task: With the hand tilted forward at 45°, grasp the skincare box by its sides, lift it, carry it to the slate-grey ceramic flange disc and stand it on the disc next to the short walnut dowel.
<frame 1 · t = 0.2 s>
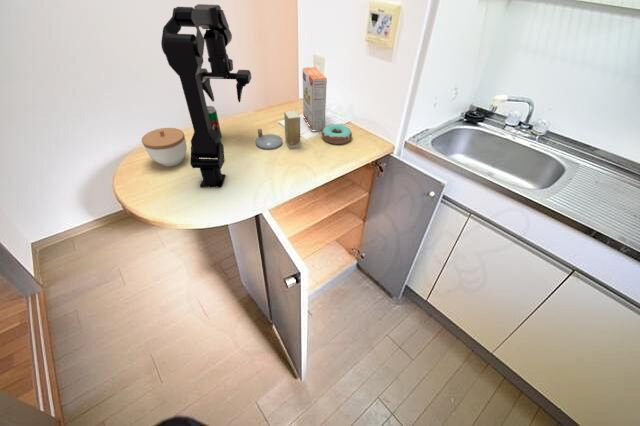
hand: (226, 101, 103), 14 cm above the table, tool pointing down, fingers open, 9 cm apart
donut: (336, 139, 116), on the table
flange disc: (269, 143, 111), on the table
soda can: (215, 139, 112), on the table
cracker box: (313, 124, 124), on the table
skincare box: (292, 145, 111), on the table
lidded bowl: (171, 161, 100), on the table
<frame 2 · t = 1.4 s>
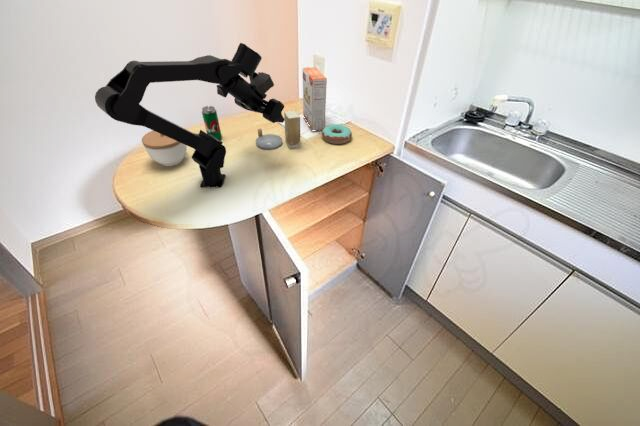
hand: (274, 116, 97), 13 cm above the table, tool tilted 45°, fingers open, 9 cm apart
nothing on the table moved.
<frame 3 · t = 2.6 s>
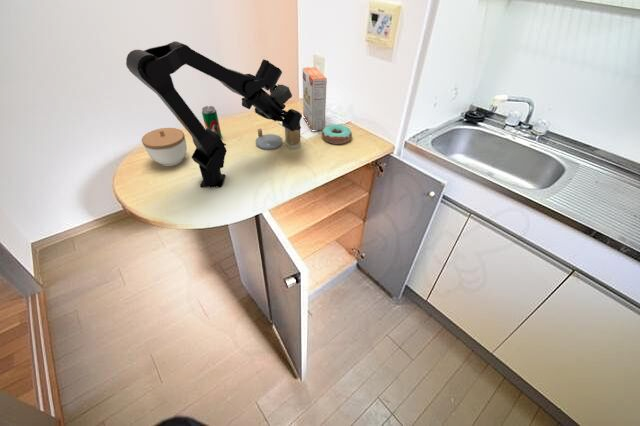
hand: (291, 124, 105), 8 cm above the table, tool tilted 45°, fingers open, 9 cm apart
nothing on the table moved.
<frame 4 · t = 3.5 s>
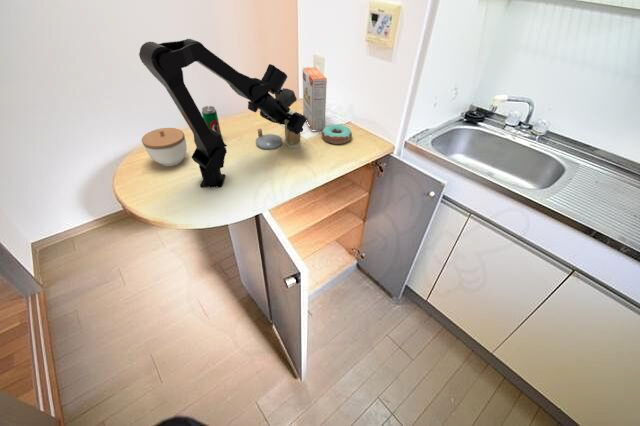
hand: (295, 127, 107), 7 cm above the table, tool tilted 45°, fingers closed on skincare box, 7 cm apart
skincare box: (292, 145, 111), on the table, touching gripper
everything else where it was.
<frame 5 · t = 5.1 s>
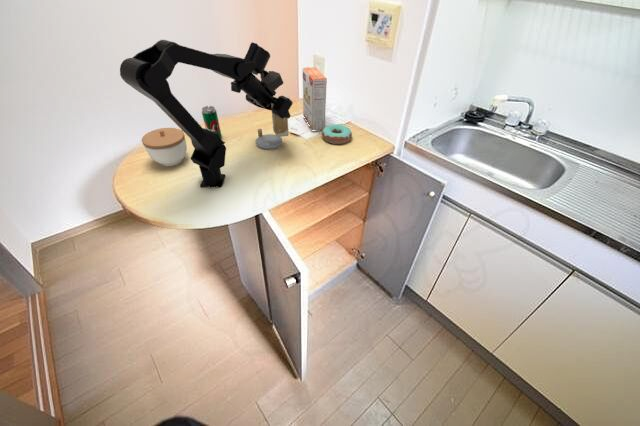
hand: (282, 113, 103), 12 cm above the table, tool tilted 45°, fingers closed on skincare box, 7 cm apart
skincare box: (280, 134, 106), point 5 cm above the table, touching gripper
everything else where it was.
when the fingers open (9 cm above the table, at t = 6.7 s): skincare box stays where it is, resting on flange disc.
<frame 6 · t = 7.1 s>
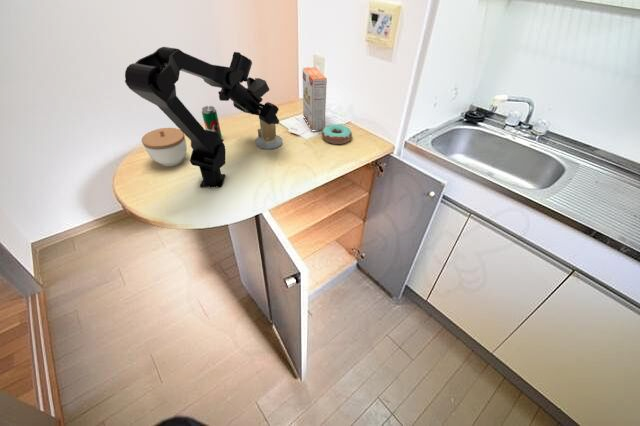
hand: (270, 118, 105), 9 cm above the table, tool tilted 45°, fingers open, 9 cm apart
skincare box: (269, 141, 110), point 1 cm above the table, touching flange disc
everything else where it was.
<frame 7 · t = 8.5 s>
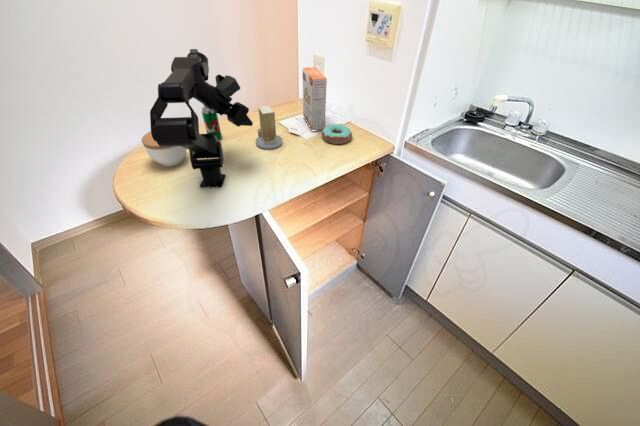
hand: (243, 119, 97), 12 cm above the table, tool tilted 45°, fingers open, 9 cm apart
nothing on the table moved.
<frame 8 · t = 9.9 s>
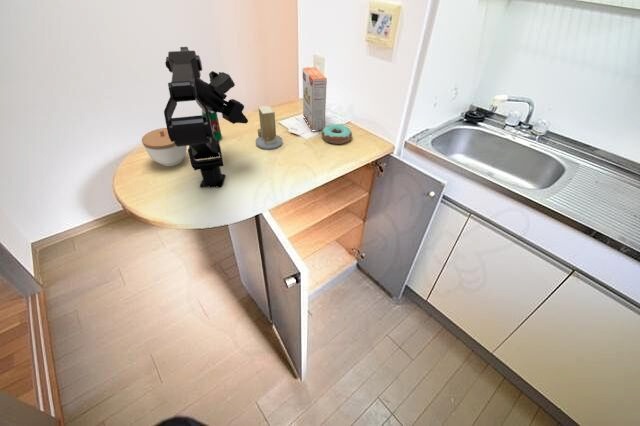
hand: (238, 117, 95), 14 cm above the table, tool tilted 45°, fingers open, 9 cm apart
nothing on the table moved.
at the end: skincare box 0.4 cm from the flange disc (horizontally); skincare box tilted 0°; the gripper is holding nothing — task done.
